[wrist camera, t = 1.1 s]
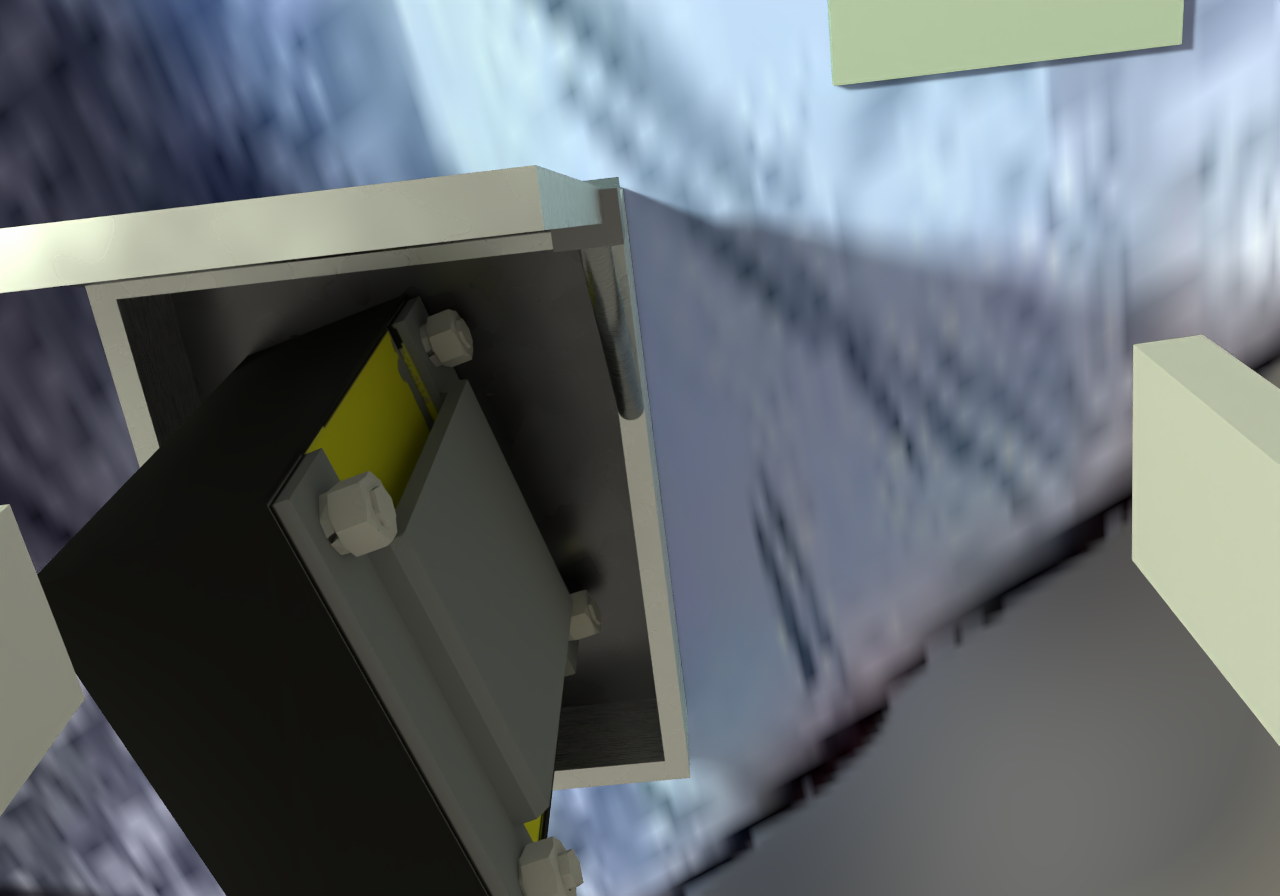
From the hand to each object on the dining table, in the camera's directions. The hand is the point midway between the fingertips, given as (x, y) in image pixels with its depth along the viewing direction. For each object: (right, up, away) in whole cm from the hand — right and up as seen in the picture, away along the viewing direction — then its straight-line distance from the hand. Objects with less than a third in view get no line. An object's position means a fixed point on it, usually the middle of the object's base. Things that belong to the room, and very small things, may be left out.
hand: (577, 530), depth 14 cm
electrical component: (-8, -1, +40) cm, 40 cm away
